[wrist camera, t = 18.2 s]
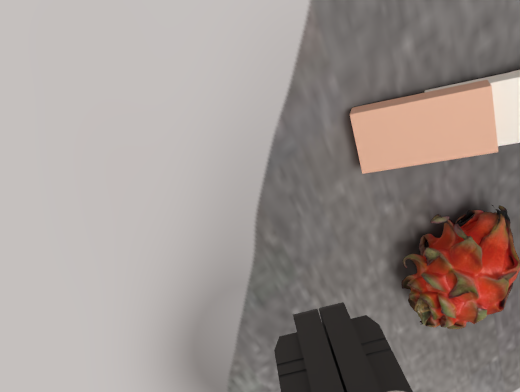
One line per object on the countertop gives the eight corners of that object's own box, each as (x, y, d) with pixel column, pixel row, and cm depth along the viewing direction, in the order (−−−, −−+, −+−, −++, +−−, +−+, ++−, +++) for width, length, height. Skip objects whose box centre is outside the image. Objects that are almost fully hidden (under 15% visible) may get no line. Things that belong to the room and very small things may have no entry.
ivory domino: (424, 90, 39) (566, 60, 36) (433, 148, 41) (569, 124, 38) (425, 96, 38) (575, 65, 34) (434, 156, 39) (577, 132, 36)
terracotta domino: (352, 107, 39) (487, 79, 36) (364, 164, 41) (493, 143, 38) (349, 114, 38) (491, 85, 34) (362, 173, 39) (498, 151, 36)
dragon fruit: (387, 292, 48) (457, 187, 46) (468, 348, 44) (546, 237, 43) (372, 301, 40) (455, 175, 38) (469, 369, 37) (564, 235, 35)
